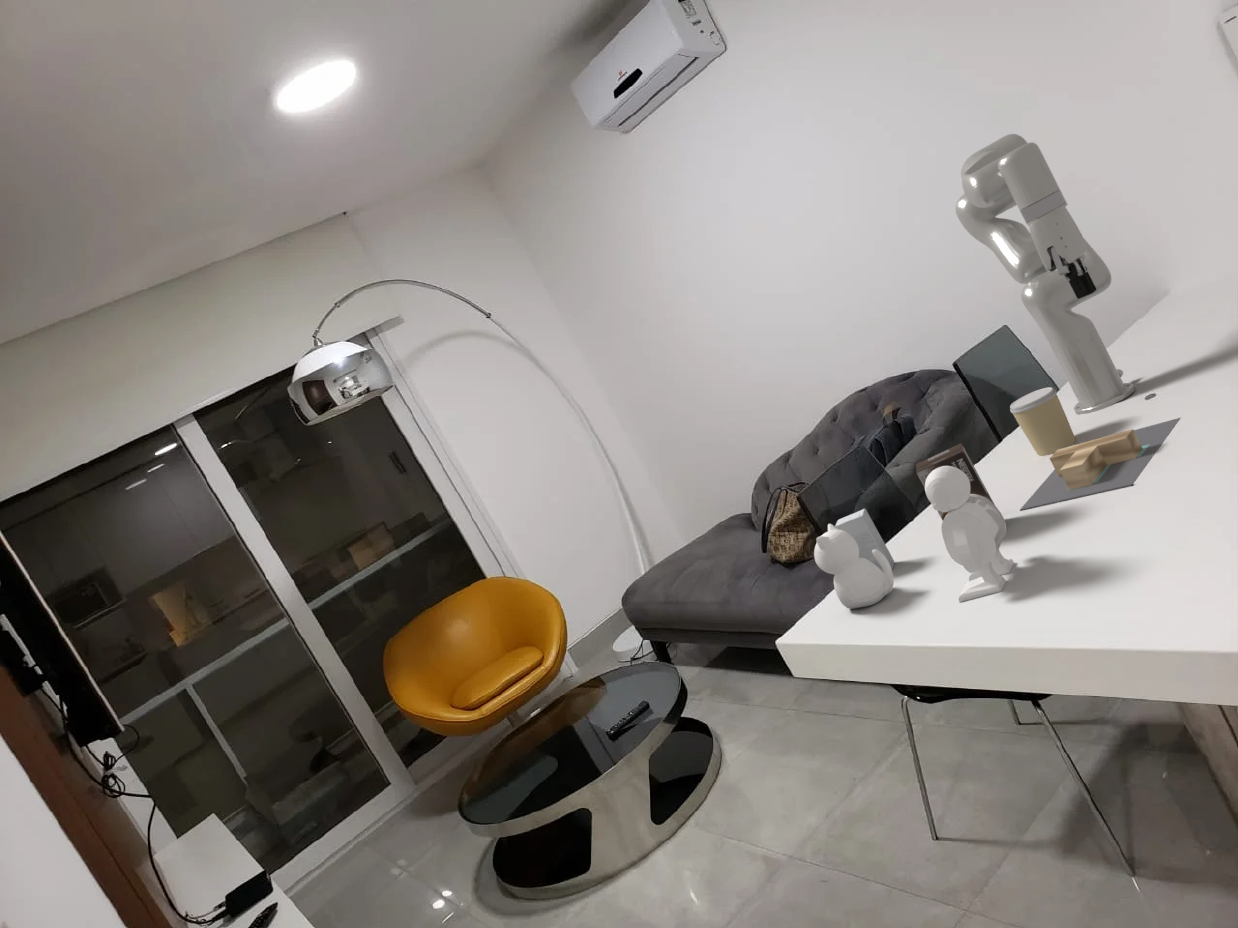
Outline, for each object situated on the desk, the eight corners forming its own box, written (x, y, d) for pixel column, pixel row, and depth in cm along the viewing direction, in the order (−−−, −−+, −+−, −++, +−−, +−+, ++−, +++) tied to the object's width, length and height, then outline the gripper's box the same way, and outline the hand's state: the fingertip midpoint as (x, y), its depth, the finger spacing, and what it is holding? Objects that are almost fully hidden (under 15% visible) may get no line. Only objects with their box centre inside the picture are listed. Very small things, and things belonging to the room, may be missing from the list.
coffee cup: (1069, 435, 187) (1043, 385, 187) (1088, 439, 178) (1061, 387, 177) (1027, 456, 189) (1002, 406, 188) (1044, 461, 180) (1017, 409, 179)
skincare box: (895, 561, 170) (866, 507, 169) (892, 570, 166) (863, 514, 165) (866, 572, 173) (837, 519, 172) (863, 581, 169) (833, 526, 168)
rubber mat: (1075, 447, 178) (1074, 446, 178) (1181, 419, 162) (1180, 417, 162) (1020, 510, 161) (1019, 509, 161) (1133, 485, 145) (1132, 484, 145)
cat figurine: (850, 596, 165) (813, 526, 164) (911, 579, 157) (872, 506, 156) (834, 620, 158) (795, 547, 157) (897, 603, 150) (856, 526, 149)
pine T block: (1066, 468, 168) (1057, 449, 168) (1142, 448, 157) (1132, 429, 157) (1043, 496, 161) (1033, 476, 160) (1121, 477, 150) (1110, 457, 149)
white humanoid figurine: (977, 567, 147) (922, 461, 145) (1031, 553, 141) (973, 443, 139) (956, 607, 136) (896, 494, 135) (1012, 594, 130) (950, 476, 129)
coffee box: (1003, 518, 162) (962, 441, 160) (1006, 529, 156) (964, 449, 154) (954, 538, 165) (914, 463, 164) (956, 550, 159) (915, 471, 158)
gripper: (1040, 208, 175) (1081, 291, 176) (1010, 228, 166) (1054, 314, 167) (1077, 189, 169) (1119, 275, 170) (1048, 209, 160) (1093, 299, 161)
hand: (1087, 294), depth 169 cm, fingers closed
